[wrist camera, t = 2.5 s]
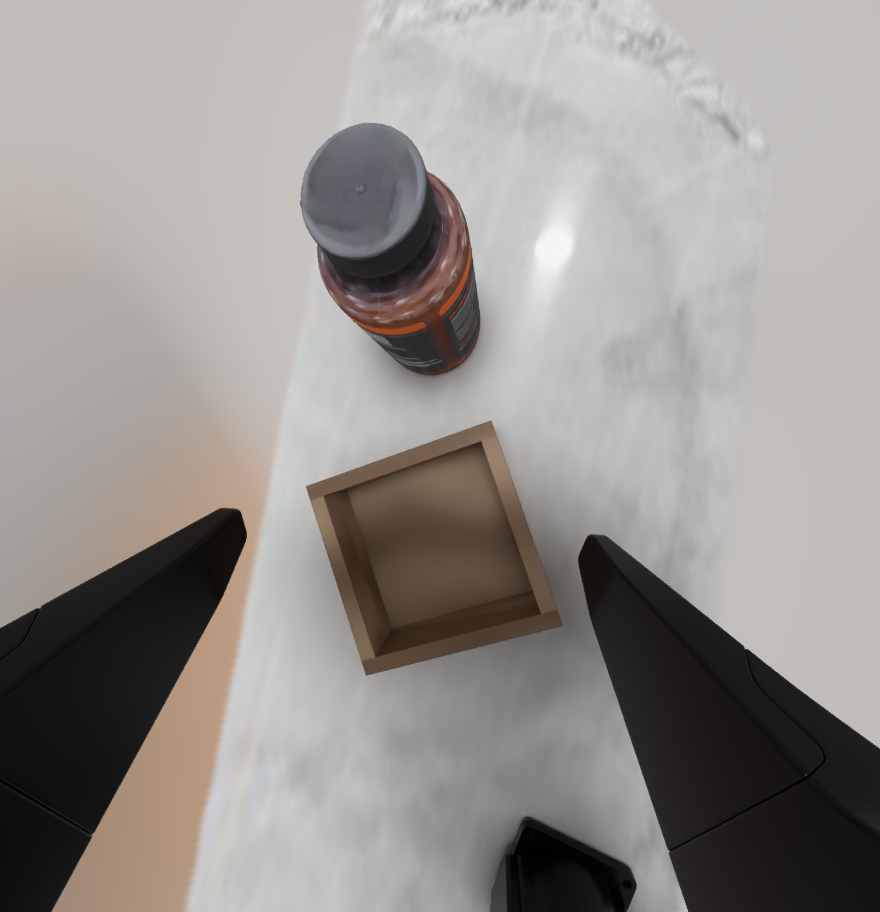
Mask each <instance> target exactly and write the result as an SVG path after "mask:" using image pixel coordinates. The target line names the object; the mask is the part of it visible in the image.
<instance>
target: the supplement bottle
mask: <svg viewBox="0 0 880 912" xmlns="http://www.w3.org/2000/svg"><path fill="white" fill-rule="evenodd" d="M300 205H301V208H302V214H303V219H304V222H305V225H306V227H307V229H308V231H309V232H310V234H311V236H312V237H313V239H314V240H315V241H316V243H317V244H318V246H317V252H318V255H317V257H318V263H319V270H320V274H321V277H322V279H323V282H324V284H325V286H326V288H327V290H328V292H329V294H330V295H331V297H332V298H333V300H334V301H335V302H336V303H337V305H338V306H339V307H340V308H341V309H342V310H343V311H344V312H345V313H346V314H347V315H348V316H349V317H350V318H351V319H352V320H353V321H354V322H355V323H356V324H357V325H358V326H359V327H360V328H362V329H363V330H364V331H365V332H366V333H367V334H368V335H369V336H371V337H372V339H374V340H375V341H376V342H377V343H378V344H379V345H380V346H381V347H382V348H383V349H384V350H385V351H386V352H388V353H389V354H390V355H391V356H392V357H393V358H394V359H395V360H396V361H397V362H399V363H400V364H402V365H403V366H404V367H406V368H408V369H410V370H412V371H414V372H417V373H422V374H438V373H442V372H445V371H448V370H450V369H452V368H454V367H455V366H457V365H458V364H460V363H461V362H462V361H463V360H464V359H466V357H467V356H468V355H469V354H470V352H471V351H472V349H473V347H474V345H475V343H476V341H477V338H478V334H479V329H480V310H479V303H478V296H477V288H476V281H475V273H474V267H473V259H472V249H471V244H470V238H469V232H468V227H467V223H466V219H465V216H464V213H463V211H462V209H461V206H460V204H459V202H458V200H457V199H456V197H455V196H454V194H453V192H452V191H451V190H450V189H449V188H448V186H447V185H446V184H445V183H444V182H442V181H441V180H440V179H439V178H437V177H436V176H435V175H433V174H431V173H429V172H427V171H426V168H425V165H424V162H423V160H422V157H421V155H420V153H419V151H418V149H417V147H416V146H415V145H414V144H413V142H412V141H411V140H410V139H409V138H408V137H407V136H406V135H405V134H403V133H402V132H400V131H398V130H396V129H395V128H393V127H391V126H386V125H383V124H377V123H362V124H358V125H354V126H351V127H348V128H346V129H344V130H342V131H340V132H338V133H336V134H335V135H333V136H332V137H331V138H329V139H328V140H327V141H326V142H325V143H324V144H323V145H322V146H321V147H320V148H319V149H318V150H317V151H316V153H315V155H314V156H313V158H312V160H311V161H310V163H309V165H308V167H307V169H306V171H305V175H304V178H303V183H302V189H301V201H300Z"/></svg>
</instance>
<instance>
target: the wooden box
mask: <svg viewBox="0 0 880 912" xmlns="http://www.w3.org/2000/svg"><path fill="white" fill-rule="evenodd" d="M306 488H307V491H308V495H309V498H310V501H311V504H312V507H313V510H314V513H315V516H316V520H317V523H318V526H319V529H320V532H321V535H322V538H323V542H324V545H325V548H326V551H327V554H328V557H329V560H330V563H331V567H332V570H333V573H334V576H335V579H336V582H337V585H338V589H339V592H340V595H341V598H342V601H343V604H344V607H345V610H346V614H347V617H348V620H349V623H350V626H351V629H352V632H353V636H354V639H355V642H356V645H357V648H358V651H359V654H360V657H361V661H362V664H363V667H364V670H365V673H366V675H370V674H374V673H378V672H382V671H386V670H390V669H394V668H398V667H402V666H406V665H410V664H414V663H418V662H422V661H425V660H429V659H433V658H437V657H441V656H445V655H449V654H453V653H457V652H461V651H465V650H469V649H473V648H477V647H481V646H485V645H489V644H493V643H497V642H501V641H505V640H508V639H512V638H516V637H520V636H524V635H528V634H532V633H536V632H540V631H544V630H548V629H552V628H556V627H560V626H563V625H562V622H561V619H560V616H559V613H558V611H557V608H556V605H555V602H554V599H553V596H552V593H551V590H550V588H549V585H548V582H547V579H546V576H545V573H544V570H543V568H542V565H541V562H540V559H539V556H538V553H537V550H536V547H535V545H534V542H533V539H532V536H531V533H530V530H529V527H528V525H527V522H526V519H525V516H524V513H523V510H522V507H521V504H520V502H519V499H518V496H517V493H516V490H515V487H514V484H513V482H512V479H511V476H510V473H509V470H508V467H507V464H506V461H505V459H504V456H503V453H502V450H501V447H500V444H499V441H498V439H497V436H496V433H495V430H494V427H493V424H492V421H489V422H486V423H483V424H480V425H477V426H475V427H472V428H469V429H466V430H463V431H461V432H458V433H455V434H452V435H449V436H446V437H444V438H441V439H438V440H435V441H432V442H430V443H427V444H424V445H421V446H418V447H416V448H413V449H410V450H407V451H404V452H401V453H399V454H396V455H393V456H390V457H387V458H385V459H382V460H379V461H376V462H373V463H371V464H368V465H365V466H362V467H359V468H356V469H354V470H351V471H348V472H345V473H342V474H340V475H337V476H334V477H331V478H328V479H326V480H323V481H320V482H317V483H314V484H311V485H309V486H306Z"/></svg>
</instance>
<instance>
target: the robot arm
mask: <svg viewBox="0 0 880 912" xmlns="http://www.w3.org/2000/svg"><path fill="white" fill-rule="evenodd" d="M246 538H247V532H246V528H245V525H244V521H243V517H242V514H241V512H240V510H238V509H234V508H220V509H218V510H216V511H214V512H212V513H210V514H209V515H207V516H205V517H203V518H201V519H200V520H198V521H196V522H194V523H192V524H190V525H188V526H187V527H185V528H183V529H181V530H179V531H178V532H176V533H174V534H172V535H170V536H168V537H167V538H165V539H163V540H161V541H159V542H157V543H156V544H154V545H152V546H150V547H148V548H146V549H145V550H143V551H141V552H139V553H137V554H135V555H134V556H132V557H130V558H128V559H126V560H124V561H123V562H121V563H119V564H117V565H115V566H114V567H112V568H110V569H108V570H106V571H104V572H102V573H101V574H99V575H97V576H95V577H93V578H92V579H90V580H88V581H86V582H84V583H82V584H80V585H79V586H77V587H75V588H73V589H71V590H69V591H68V592H66V593H64V594H62V595H60V596H58V597H57V598H55V599H53V600H51V601H50V602H47V603H46V604H44V605H42V606H41V608H40V609H39V608H37V609H34V610H33V611H31V612H29V613H27V614H26V615H23V616H22V617H20V618H18V619H16V620H14V621H12V622H11V623H9V624H7V625H5V626H3V627H1V628H0V912H52V910H53V908H54V906H55V904H56V903H57V901H58V899H59V897H60V895H61V894H62V891H63V890H64V888H65V886H66V884H67V882H68V881H69V879H70V877H71V875H72V873H73V871H74V870H75V868H76V866H77V864H78V862H79V861H80V859H81V857H82V855H83V853H84V851H85V850H86V848H87V846H88V844H89V842H90V840H91V838H92V834H93V833H94V832H95V830H96V829H97V827H98V825H99V823H100V821H101V819H102V818H103V816H104V814H105V812H106V810H107V808H108V806H109V805H110V803H111V801H112V799H113V797H114V795H115V794H116V792H117V790H118V788H119V786H120V785H121V783H122V781H123V779H124V777H125V775H126V774H127V772H128V770H129V768H130V766H131V764H132V763H133V761H134V759H135V757H136V755H137V753H138V752H139V749H140V748H141V746H142V744H143V742H144V740H145V739H146V737H147V735H148V733H149V731H150V730H151V728H152V726H153V724H154V722H155V720H156V718H157V717H158V715H159V713H160V711H161V709H162V707H163V706H164V704H165V702H166V700H167V698H168V697H169V695H170V693H171V691H172V689H173V687H174V686H175V684H176V682H177V680H178V678H179V676H180V675H181V673H182V671H183V669H184V667H185V665H186V664H187V662H188V660H189V658H190V656H191V654H192V652H193V651H194V649H195V647H196V645H197V643H198V641H199V640H200V638H201V636H202V634H203V632H204V630H205V629H206V627H207V625H208V623H209V621H210V619H211V618H212V616H213V614H214V612H215V610H216V608H217V607H218V605H219V603H220V601H221V599H222V597H223V595H224V592H225V590H226V588H227V585H228V583H229V580H230V578H231V576H232V573H233V571H234V569H235V566H236V563H237V561H238V559H239V556H240V554H241V552H242V549H243V547H244V544H245V542H246ZM578 564H579V569H580V574H581V578H582V583H583V587H584V592H585V596H586V601H587V605H588V610H589V614H590V618H591V621H592V624H593V628H594V631H595V634H596V637H597V640H598V643H599V646H600V649H601V652H602V655H603V658H604V661H605V664H606V667H607V670H608V673H609V676H610V679H611V682H612V685H613V688H614V690H615V693H616V696H617V699H618V702H619V705H620V708H621V711H622V714H623V717H624V720H625V723H626V726H627V729H628V732H629V735H630V738H631V741H632V744H633V747H634V750H635V753H636V756H637V759H638V762H639V765H640V768H641V771H642V774H643V777H644V780H645V783H646V786H647V789H648V792H649V795H650V798H651V801H652V804H653V807H654V810H655V813H656V816H657V819H658V822H659V825H660V828H661V831H662V834H663V837H664V840H665V843H666V846H667V848H668V850H669V855H670V858H671V861H672V864H673V867H674V870H675V873H676V876H677V879H678V882H679V885H680V888H681V891H682V894H683V897H684V900H685V903H686V906H687V909H688V912H880V748H878V747H877V746H875V745H874V744H873V743H871V742H870V741H869V740H867V739H866V738H864V737H863V736H862V735H860V734H859V733H858V732H856V731H855V730H853V729H852V728H851V727H849V726H848V725H847V724H845V723H844V722H842V721H841V720H840V719H838V718H837V717H836V716H834V715H833V714H831V713H830V712H829V711H827V710H826V709H825V708H823V707H822V706H820V705H819V704H818V703H817V702H815V701H814V700H812V699H811V698H810V697H808V696H807V695H806V694H804V693H803V692H802V691H800V690H799V689H798V688H796V687H795V686H794V685H793V684H791V683H790V682H789V681H787V680H786V679H785V678H784V677H782V676H781V675H780V674H778V673H777V672H776V671H774V670H773V669H772V668H771V667H769V666H768V665H767V664H765V663H764V662H763V661H762V660H761V659H759V658H758V657H757V656H756V655H754V654H753V653H752V652H751V651H749V650H748V649H745V648H744V646H743V645H742V644H741V643H739V642H738V641H737V640H736V639H734V638H733V637H732V636H731V635H729V634H728V633H727V632H726V631H724V630H723V629H722V628H721V627H719V626H718V625H717V624H716V623H714V622H713V621H712V620H711V619H709V618H708V617H707V616H706V615H704V614H703V613H702V612H701V611H699V610H698V609H697V608H696V607H694V606H693V605H692V604H691V603H689V602H688V601H687V600H686V599H684V598H683V597H682V596H681V595H679V594H678V593H677V592H676V591H674V590H673V589H672V588H671V587H669V586H668V585H667V584H666V583H664V582H663V581H662V580H661V579H659V578H658V577H657V576H656V575H654V574H653V573H652V572H651V571H649V570H648V569H647V568H646V567H644V566H643V565H642V564H641V563H639V562H638V561H637V560H636V559H634V558H633V557H632V556H631V555H629V554H628V553H627V552H626V551H624V550H623V549H622V548H621V547H619V546H618V545H617V544H616V543H614V542H613V541H612V540H611V539H609V538H608V537H607V536H605V535H596V534H591V535H589V536H587V538H586V540H585V543H584V545H583V547H582V549H581V552H580V554H579V557H578ZM528 831H532V832H528ZM625 879H627V880H625ZM636 886H637V885H636V881H635V878H634V875H633V873H632V871H631V870H630V869H629V868H627V867H625V866H623V865H621V864H619V863H617V862H615V861H613V860H611V859H609V858H607V857H605V856H603V855H601V854H599V853H597V852H595V851H593V850H591V849H589V848H587V847H585V846H583V845H581V844H579V843H577V842H575V841H573V840H571V839H569V838H567V837H565V836H563V835H561V834H559V833H557V832H555V831H553V830H551V829H549V828H547V827H545V826H543V825H541V824H539V823H537V822H535V821H533V820H525V821H523V822H522V824H521V827H520V829H519V832H518V834H517V837H516V840H515V842H514V845H513V848H512V850H511V853H508V854H507V855H505V857H504V860H503V863H502V865H501V868H500V870H499V873H498V876H497V878H496V881H495V884H494V886H493V889H492V903H491V907H490V912H627V910H628V908H629V905H630V903H631V900H632V898H633V895H634V893H635V890H636Z"/></svg>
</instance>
